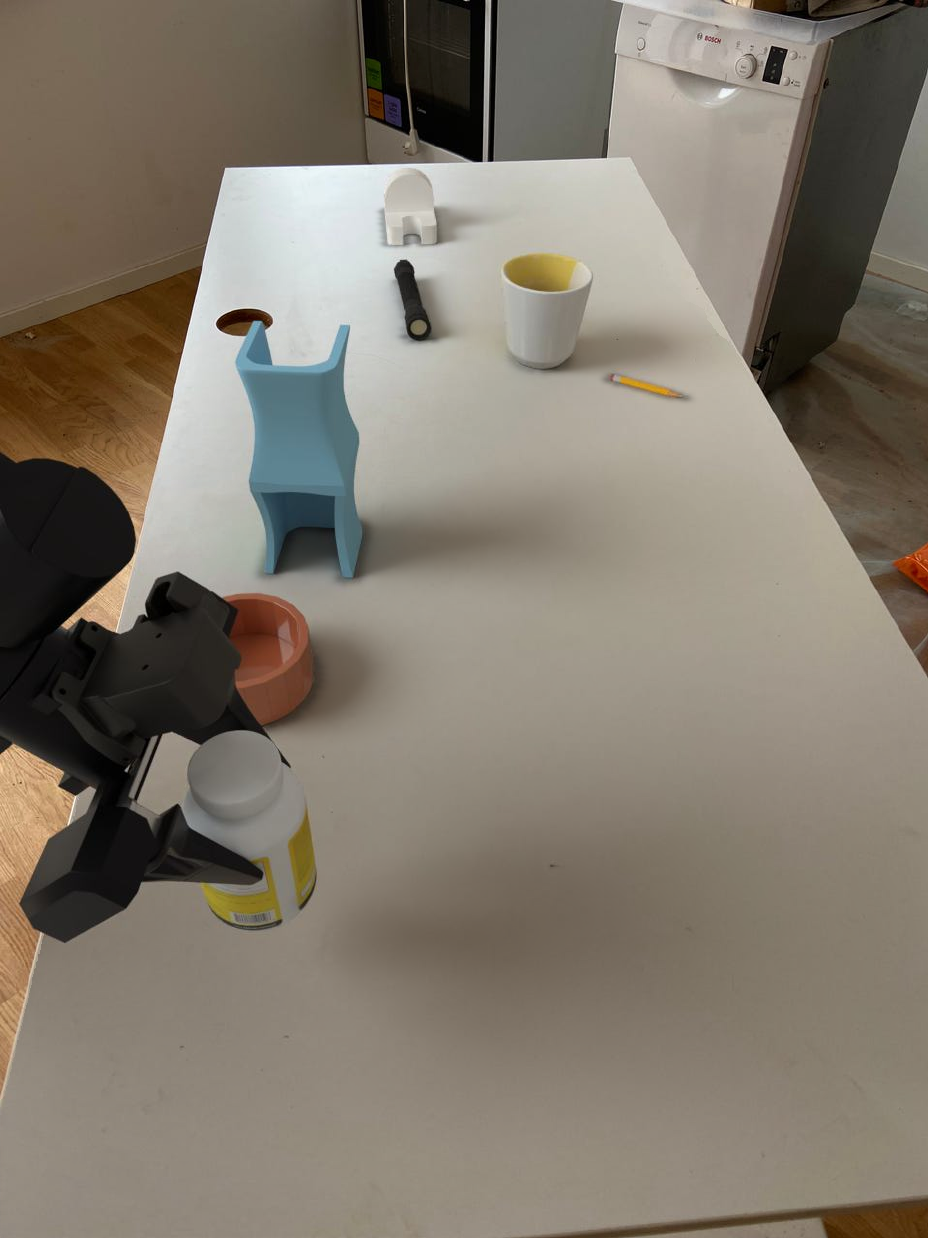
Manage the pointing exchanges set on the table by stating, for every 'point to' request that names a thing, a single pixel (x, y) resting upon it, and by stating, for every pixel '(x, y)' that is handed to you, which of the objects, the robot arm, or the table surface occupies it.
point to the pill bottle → (252, 828)
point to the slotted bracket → (409, 207)
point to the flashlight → (412, 302)
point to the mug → (544, 306)
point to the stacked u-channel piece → (302, 446)
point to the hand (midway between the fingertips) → (272, 824)
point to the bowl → (271, 655)
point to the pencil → (643, 386)
